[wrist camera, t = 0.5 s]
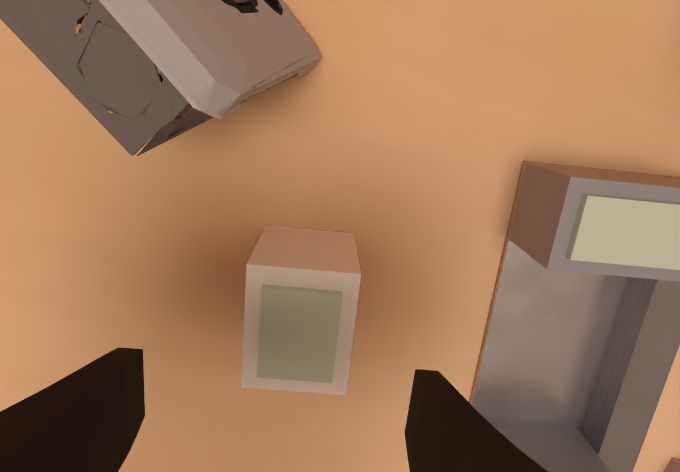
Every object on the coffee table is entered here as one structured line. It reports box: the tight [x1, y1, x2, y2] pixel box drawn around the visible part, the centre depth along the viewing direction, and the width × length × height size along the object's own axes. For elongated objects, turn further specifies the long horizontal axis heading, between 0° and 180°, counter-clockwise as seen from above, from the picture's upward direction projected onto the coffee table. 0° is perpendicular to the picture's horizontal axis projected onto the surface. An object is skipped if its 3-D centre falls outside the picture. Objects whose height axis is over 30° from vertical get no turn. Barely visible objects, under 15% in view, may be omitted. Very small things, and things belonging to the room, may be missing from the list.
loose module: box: [241, 225, 361, 395], centre depth 18 cm, size 5×4×5 cm
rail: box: [470, 161, 680, 472], centre depth 21 cm, size 17×8×2 cm, turn 174°
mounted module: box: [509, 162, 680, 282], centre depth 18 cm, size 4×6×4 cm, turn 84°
